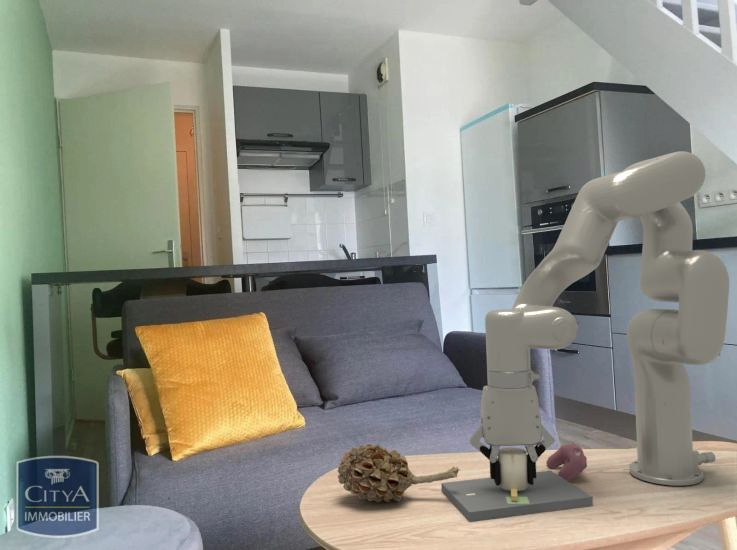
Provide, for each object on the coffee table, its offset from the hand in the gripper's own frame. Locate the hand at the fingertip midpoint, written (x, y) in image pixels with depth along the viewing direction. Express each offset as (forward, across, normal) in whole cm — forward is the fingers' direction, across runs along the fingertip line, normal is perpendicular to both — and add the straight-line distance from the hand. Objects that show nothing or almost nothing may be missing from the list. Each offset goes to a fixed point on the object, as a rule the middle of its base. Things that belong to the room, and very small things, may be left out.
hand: (513, 481), depth 103 cm
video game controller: (+3, -12, -12) cm, 17 cm away
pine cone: (+3, +20, 0) cm, 20 cm away
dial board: (+3, 0, 0) cm, 3 cm away
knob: (+1, 0, +2) cm, 2 cm away
